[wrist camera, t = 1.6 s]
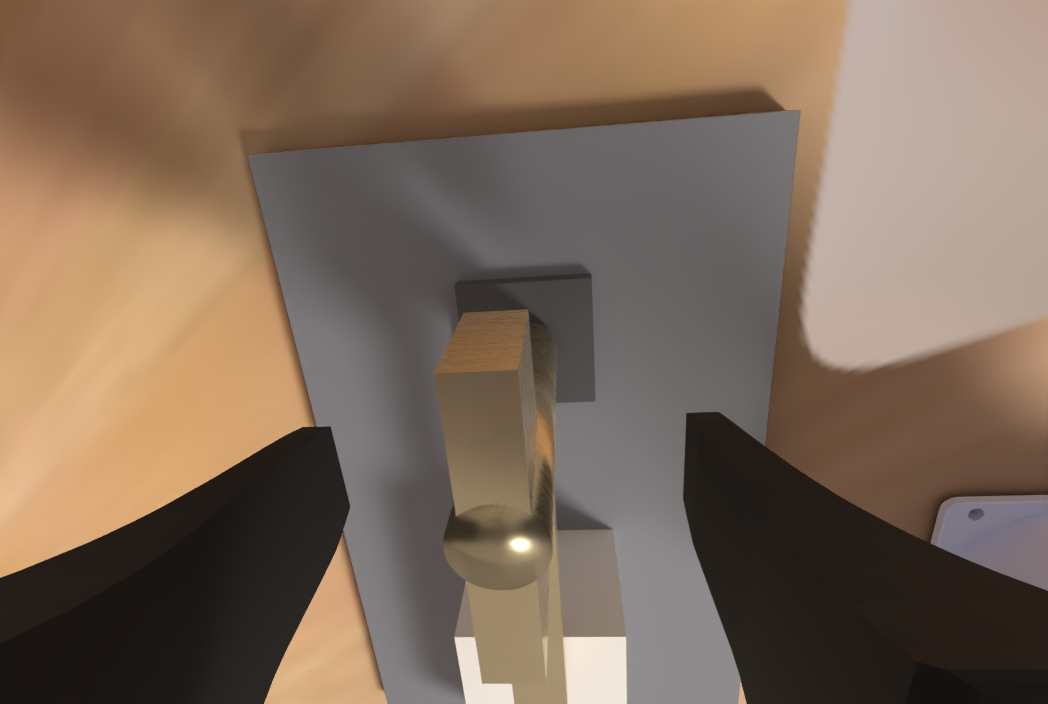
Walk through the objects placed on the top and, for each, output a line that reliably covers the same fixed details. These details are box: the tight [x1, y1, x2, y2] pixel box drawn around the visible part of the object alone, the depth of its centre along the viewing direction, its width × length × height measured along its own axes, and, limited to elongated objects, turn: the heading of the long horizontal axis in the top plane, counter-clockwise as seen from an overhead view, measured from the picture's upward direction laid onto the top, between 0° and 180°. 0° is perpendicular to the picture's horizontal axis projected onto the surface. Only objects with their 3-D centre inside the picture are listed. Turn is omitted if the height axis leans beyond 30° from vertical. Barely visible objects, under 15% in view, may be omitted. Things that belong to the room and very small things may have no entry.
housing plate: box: [247, 110, 800, 704], centre depth 20 cm, size 15×24×2 cm, turn 4°
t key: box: [434, 309, 568, 704], centre depth 14 cm, size 2×12×8 cm, turn 4°
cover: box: [454, 529, 627, 704], centre depth 20 cm, size 5×10×4 cm, turn 4°
